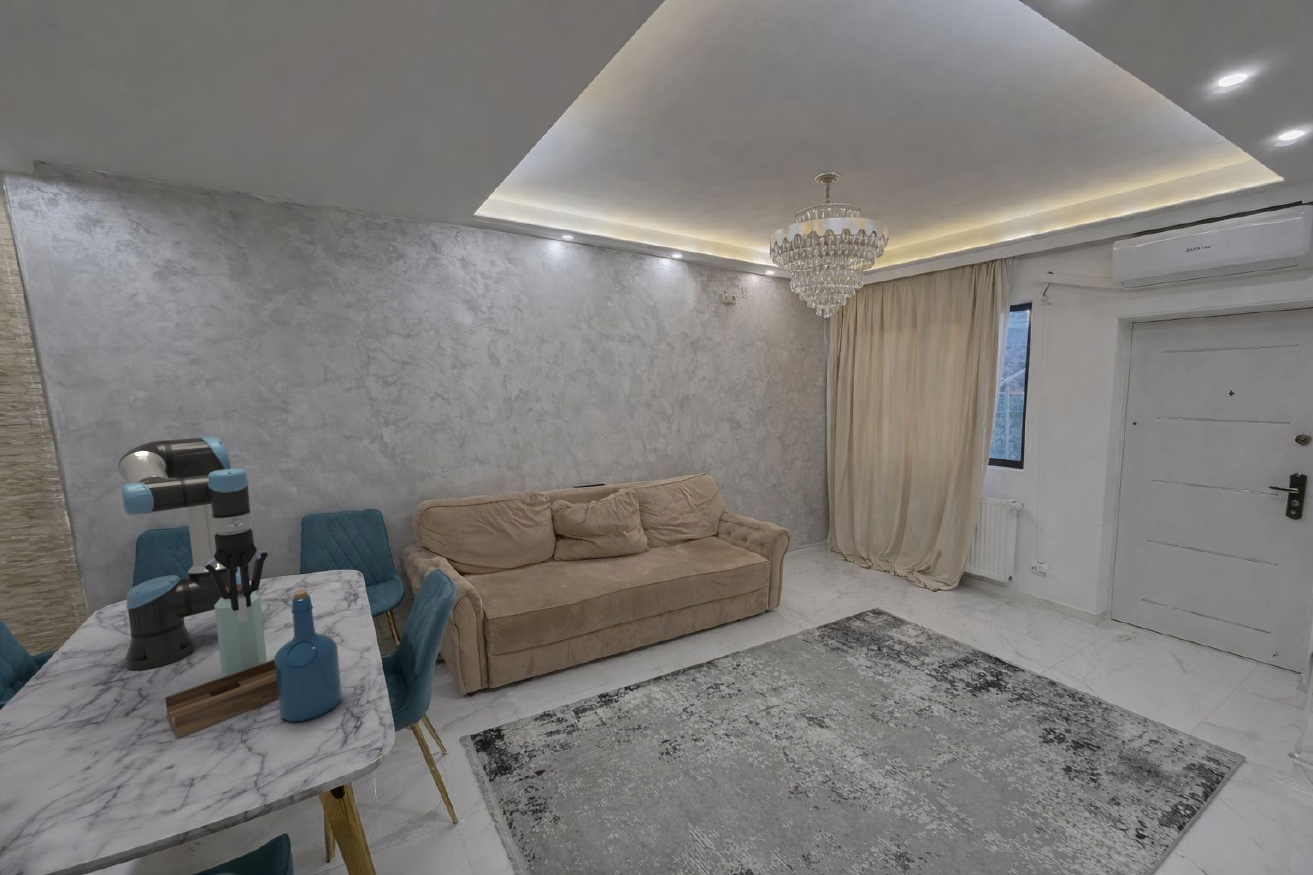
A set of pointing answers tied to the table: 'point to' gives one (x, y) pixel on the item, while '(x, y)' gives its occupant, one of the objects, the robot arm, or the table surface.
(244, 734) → the table surface
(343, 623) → the table surface
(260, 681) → the trap box
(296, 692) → the wine bottle
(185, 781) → the table surface
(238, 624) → the water bottle
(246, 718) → the table surface
